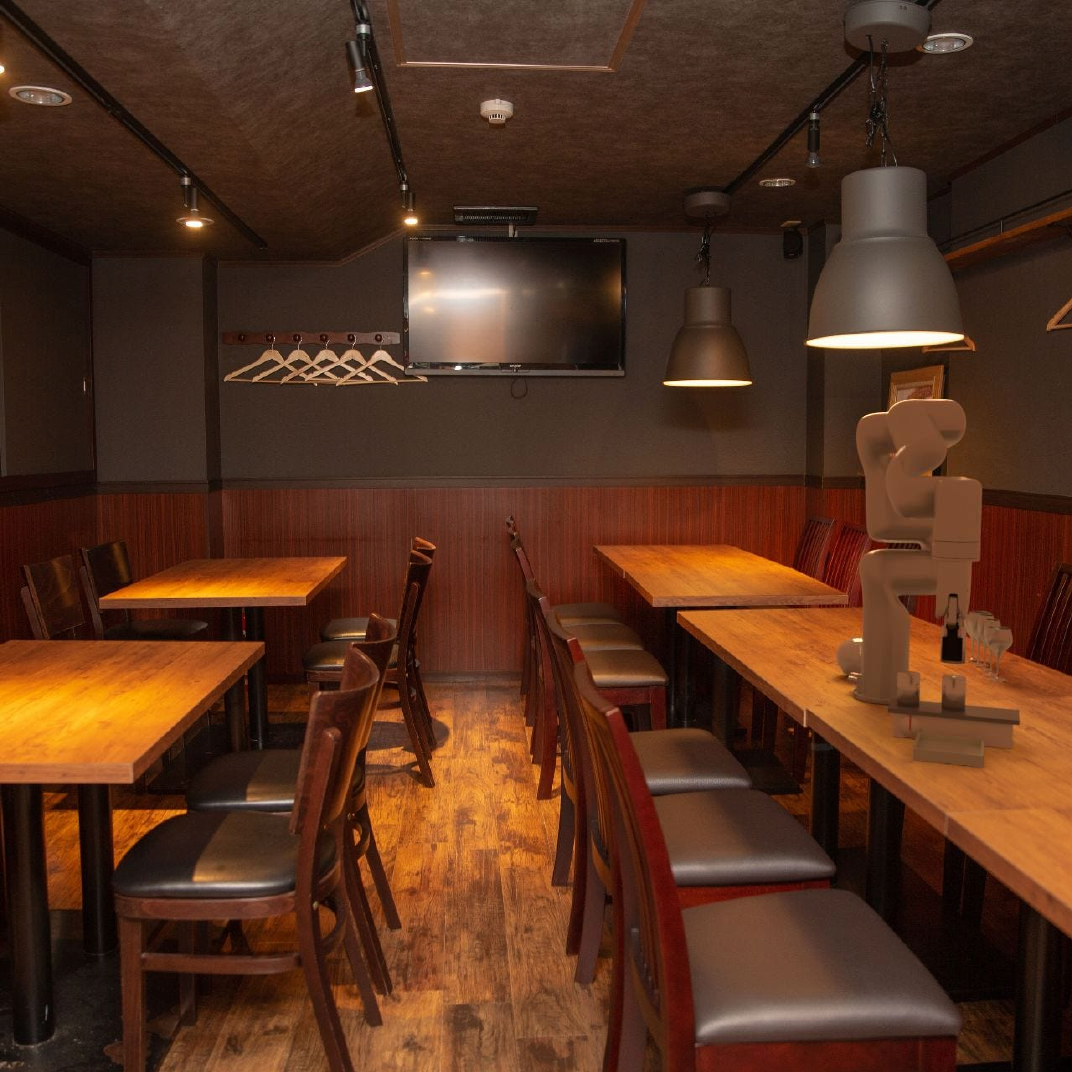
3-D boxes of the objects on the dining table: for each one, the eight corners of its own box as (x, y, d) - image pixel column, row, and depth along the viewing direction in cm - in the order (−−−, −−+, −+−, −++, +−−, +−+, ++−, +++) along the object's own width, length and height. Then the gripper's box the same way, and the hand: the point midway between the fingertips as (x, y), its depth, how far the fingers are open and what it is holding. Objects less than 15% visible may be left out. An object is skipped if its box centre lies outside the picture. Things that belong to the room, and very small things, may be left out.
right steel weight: (935, 661, 180) (936, 626, 180) (948, 658, 183) (950, 624, 182) (956, 665, 177) (957, 629, 177) (970, 662, 180) (971, 627, 179)
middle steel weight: (936, 708, 193) (937, 676, 192) (949, 705, 195) (950, 673, 194) (956, 712, 189) (957, 680, 189) (969, 709, 192) (970, 677, 191)
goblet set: (958, 658, 267) (959, 606, 266) (982, 659, 266) (984, 606, 265) (987, 682, 239) (989, 624, 238) (1014, 683, 238) (1016, 625, 237)
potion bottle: (831, 680, 246) (897, 690, 244) (838, 663, 238) (907, 674, 236) (833, 645, 251) (898, 654, 249) (840, 627, 243) (908, 636, 240)
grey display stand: (886, 736, 193) (887, 708, 193) (891, 725, 201) (891, 698, 200) (1018, 750, 184) (1019, 720, 184) (1018, 738, 192) (1019, 710, 192)
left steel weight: (892, 704, 196) (893, 672, 195) (905, 701, 198) (906, 669, 198) (910, 708, 193) (911, 676, 192) (923, 705, 195) (924, 673, 194)
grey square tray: (912, 759, 179) (912, 748, 179) (917, 743, 189) (917, 732, 189) (983, 767, 174) (983, 756, 174) (984, 750, 184) (984, 739, 184)
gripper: (935, 546, 188) (932, 648, 189) (929, 554, 172) (925, 665, 174) (981, 548, 185) (977, 651, 186) (978, 556, 169) (975, 669, 171)
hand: (952, 657), depth 180 cm, fingers closed on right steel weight, 4 cm apart
